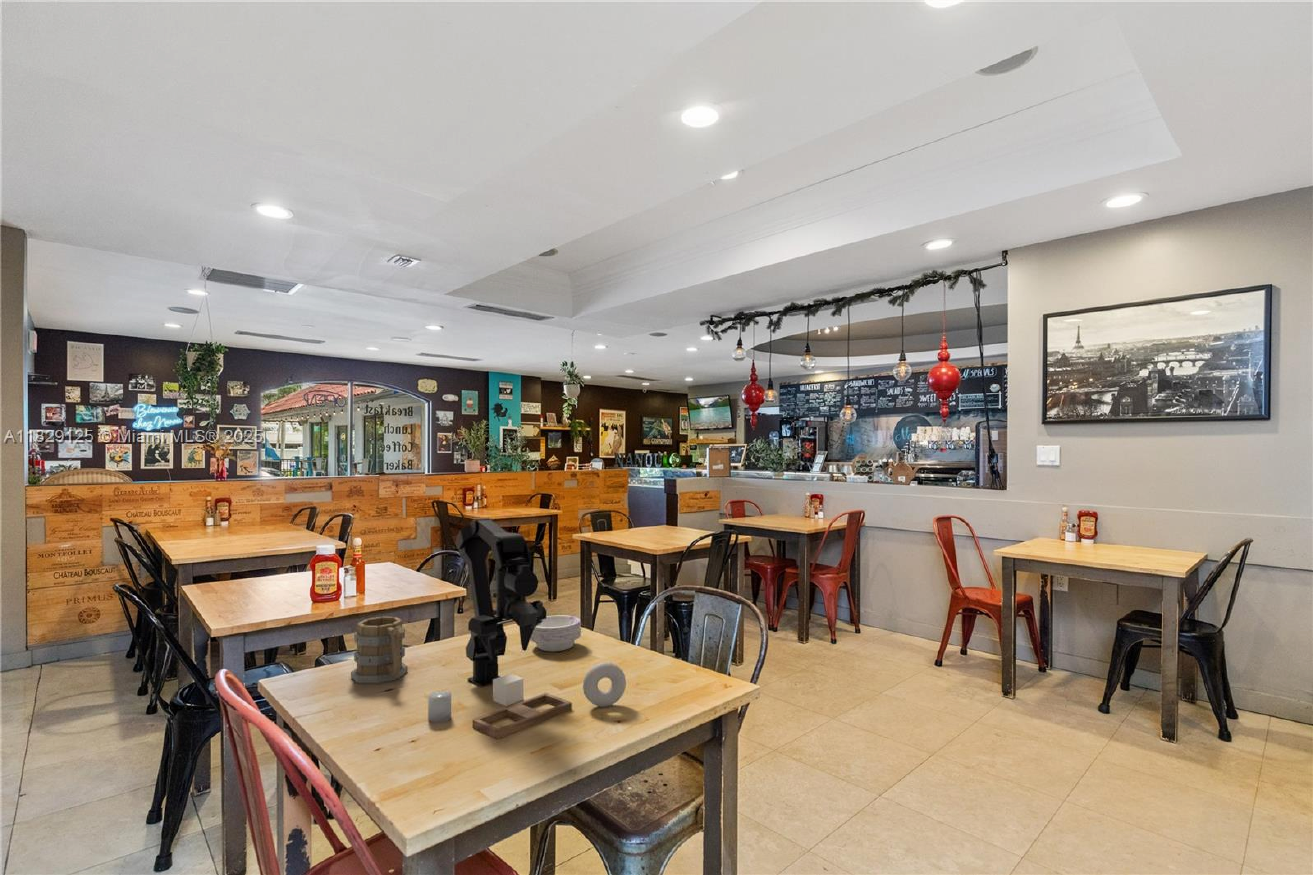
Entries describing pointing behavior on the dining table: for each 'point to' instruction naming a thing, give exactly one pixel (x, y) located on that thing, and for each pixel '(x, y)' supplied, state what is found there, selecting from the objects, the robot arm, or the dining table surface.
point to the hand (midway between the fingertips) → (508, 655)
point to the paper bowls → (557, 633)
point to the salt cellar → (439, 706)
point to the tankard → (379, 650)
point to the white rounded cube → (508, 689)
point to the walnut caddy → (521, 715)
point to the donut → (612, 693)
